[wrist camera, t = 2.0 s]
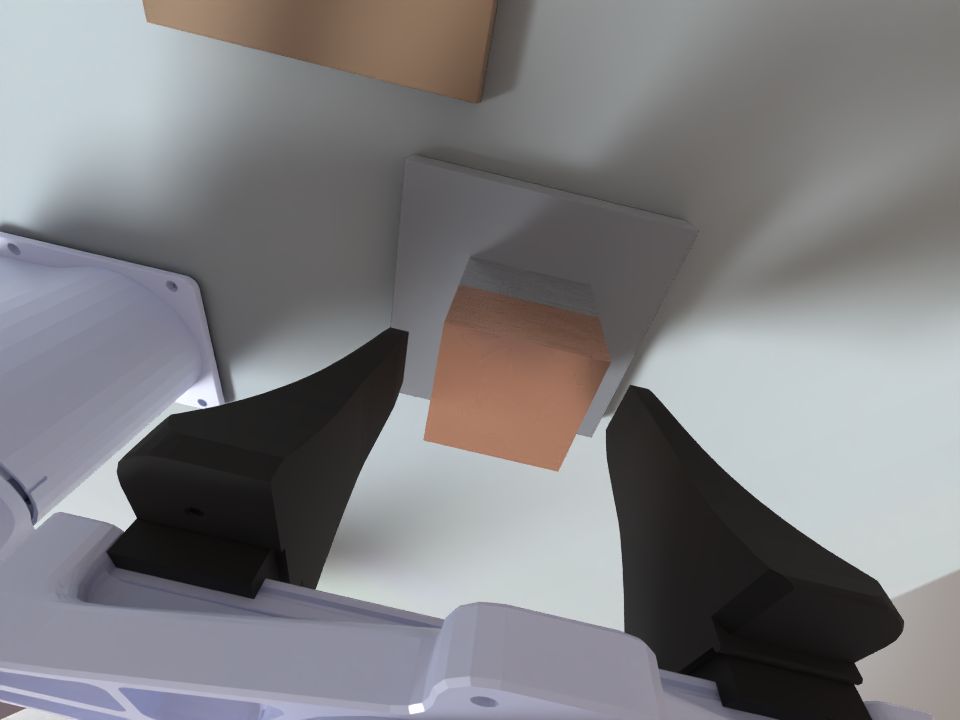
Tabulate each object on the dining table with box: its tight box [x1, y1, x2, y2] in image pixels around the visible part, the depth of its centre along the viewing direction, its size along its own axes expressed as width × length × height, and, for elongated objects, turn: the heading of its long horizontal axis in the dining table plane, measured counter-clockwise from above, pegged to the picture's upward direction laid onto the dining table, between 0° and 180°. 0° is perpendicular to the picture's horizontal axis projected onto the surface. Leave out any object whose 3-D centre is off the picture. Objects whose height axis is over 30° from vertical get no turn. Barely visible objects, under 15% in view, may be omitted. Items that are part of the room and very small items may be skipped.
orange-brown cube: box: [424, 257, 611, 471], centre depth 14 cm, size 5×5×5 cm
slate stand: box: [391, 154, 699, 438], centre depth 17 cm, size 10×10×1 cm
